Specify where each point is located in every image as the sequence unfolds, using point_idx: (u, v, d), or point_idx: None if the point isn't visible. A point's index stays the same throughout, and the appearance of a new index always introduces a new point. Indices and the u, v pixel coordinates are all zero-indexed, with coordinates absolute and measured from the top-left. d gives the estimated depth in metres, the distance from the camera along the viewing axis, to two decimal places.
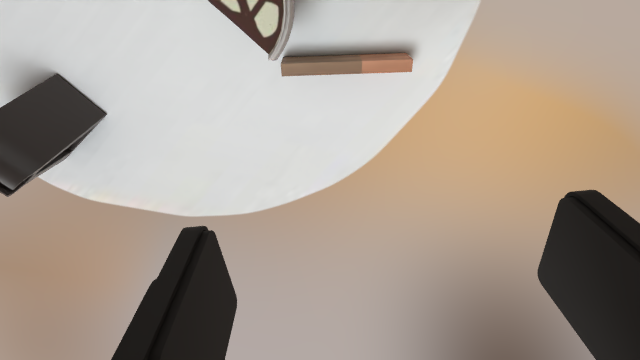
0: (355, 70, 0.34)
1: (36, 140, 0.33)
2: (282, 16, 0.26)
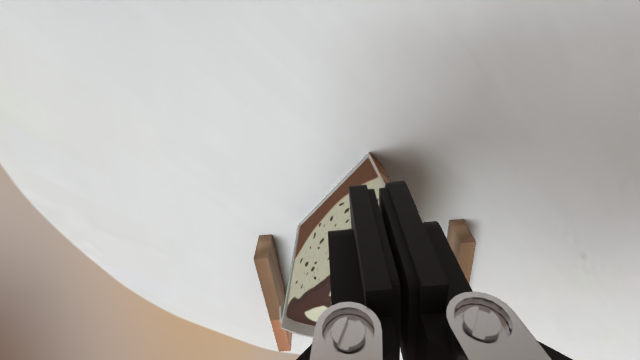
0: (272, 315, 0.33)
1: None
2: None
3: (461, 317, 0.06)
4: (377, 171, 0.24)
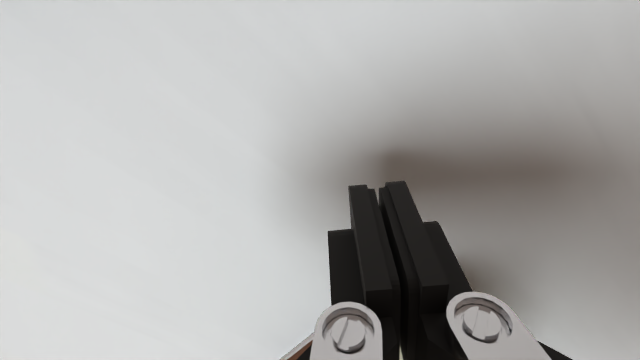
0: None
1: None
2: None
3: (461, 317, 0.06)
4: None
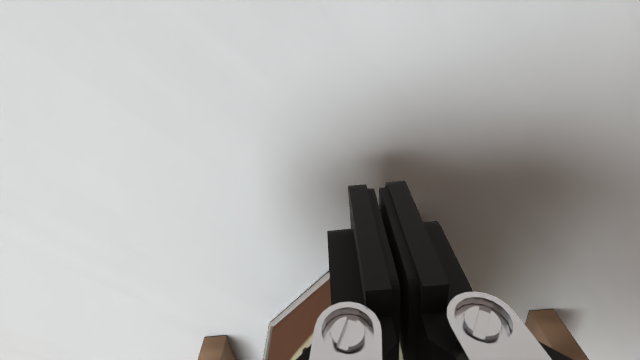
0: None
1: None
2: None
3: (461, 317, 0.06)
4: None
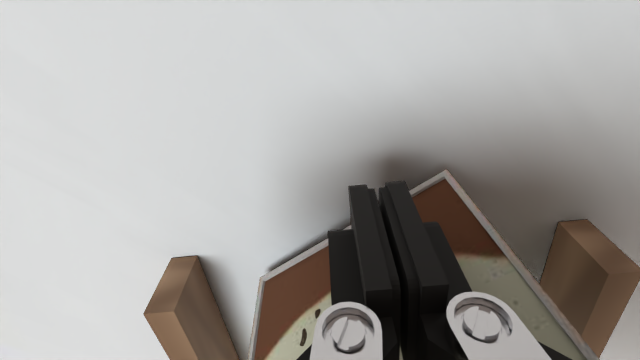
0: None
1: None
2: None
3: (461, 317, 0.06)
4: (498, 239, 0.10)
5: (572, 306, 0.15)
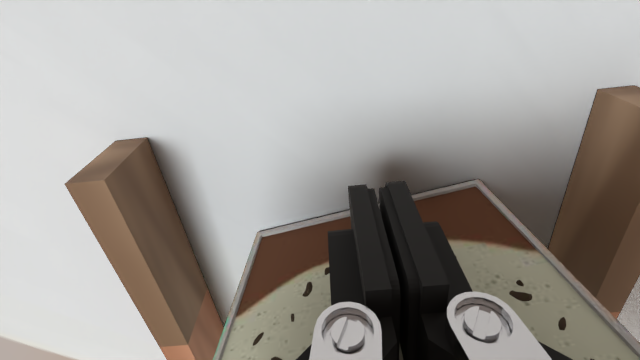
0: (161, 336, 0.14)
1: None
2: None
3: (461, 317, 0.06)
4: (531, 236, 0.11)
5: (616, 191, 0.12)
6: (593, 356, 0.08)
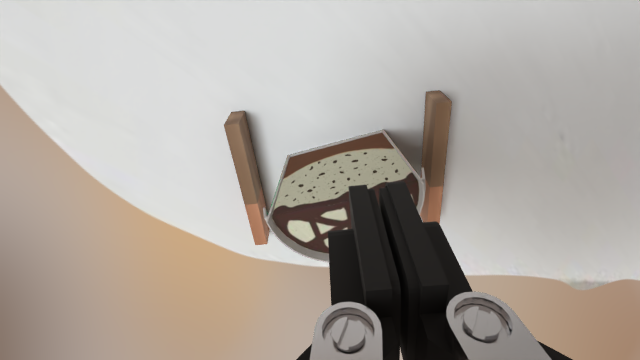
0: (246, 198, 0.32)
1: None
2: (296, 242, 0.27)
3: (461, 317, 0.06)
4: (393, 144, 0.29)
5: (430, 131, 0.30)
6: (397, 168, 0.26)
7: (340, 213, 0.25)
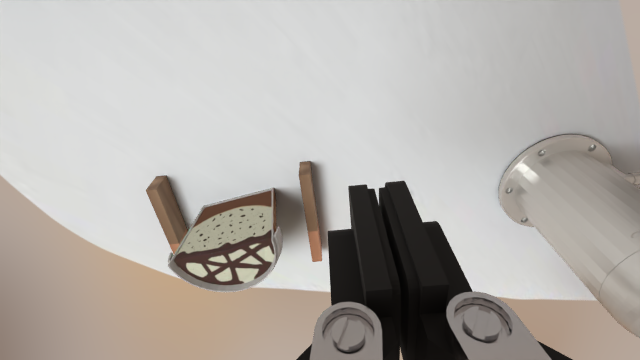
0: (170, 240, 0.42)
1: None
2: (195, 277, 0.37)
3: (461, 317, 0.06)
4: (272, 203, 0.39)
5: None
6: (264, 225, 0.36)
7: (221, 258, 0.35)
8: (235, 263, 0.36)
